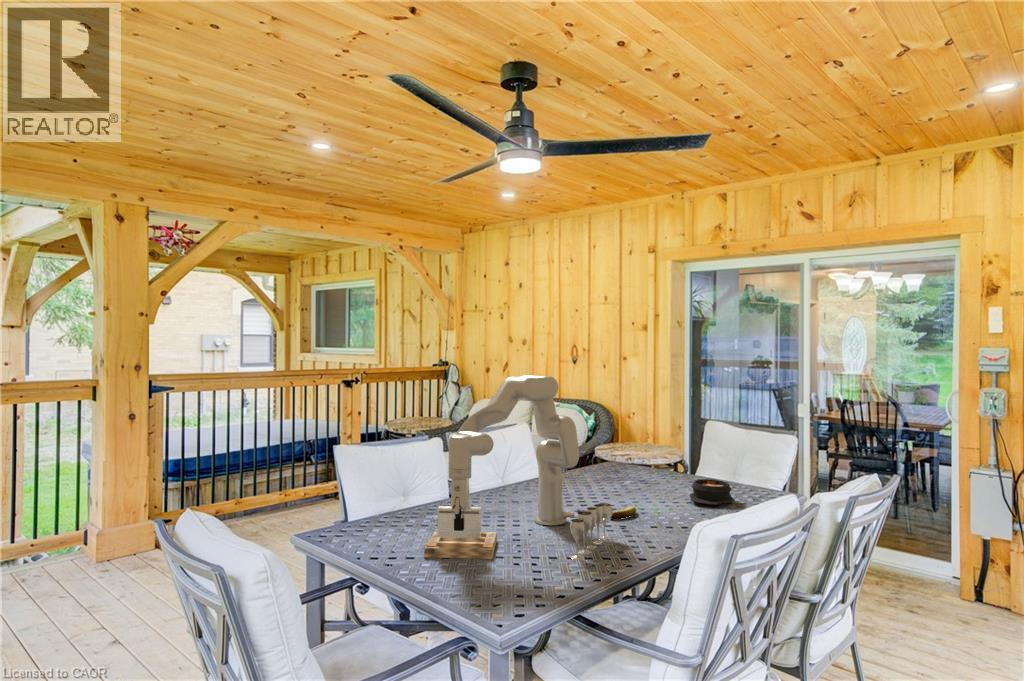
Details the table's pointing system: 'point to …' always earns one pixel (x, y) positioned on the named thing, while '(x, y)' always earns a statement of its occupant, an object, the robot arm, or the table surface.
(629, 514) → the yellow brown curved block
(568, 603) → the table surface
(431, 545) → the rack
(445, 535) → the blanking panel
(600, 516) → the goblet set
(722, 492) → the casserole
